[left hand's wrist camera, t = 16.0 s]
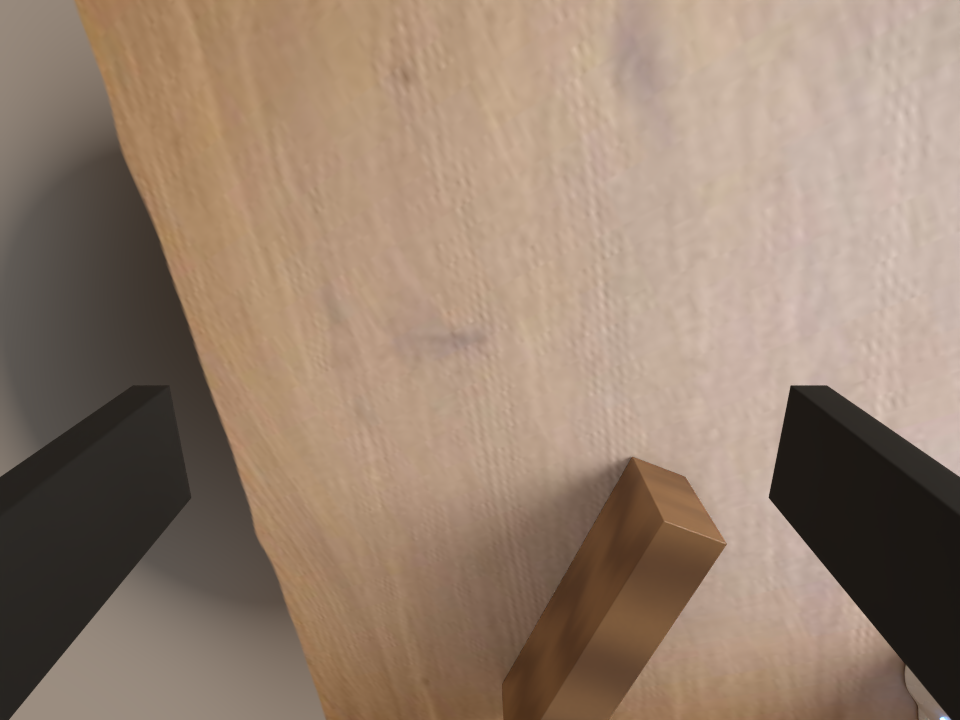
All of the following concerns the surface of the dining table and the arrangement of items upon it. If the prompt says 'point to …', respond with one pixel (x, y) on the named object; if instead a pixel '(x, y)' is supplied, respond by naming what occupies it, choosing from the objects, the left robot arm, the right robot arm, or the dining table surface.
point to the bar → (615, 599)
